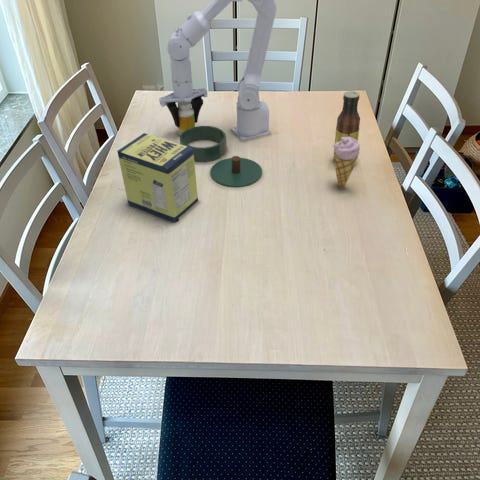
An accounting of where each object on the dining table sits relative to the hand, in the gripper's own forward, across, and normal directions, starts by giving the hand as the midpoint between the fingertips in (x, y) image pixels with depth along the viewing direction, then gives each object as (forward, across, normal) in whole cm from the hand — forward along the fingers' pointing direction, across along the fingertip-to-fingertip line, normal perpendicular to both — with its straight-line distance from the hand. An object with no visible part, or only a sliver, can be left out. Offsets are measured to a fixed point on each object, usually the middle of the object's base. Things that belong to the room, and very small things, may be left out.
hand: (186, 123), depth 153 cm
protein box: (+3, -20, -32) cm, 38 cm away
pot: (+3, 0, -13) cm, 13 cm away
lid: (+2, +3, -28) cm, 29 cm away
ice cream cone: (+3, +25, -47) cm, 53 cm away
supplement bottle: (+3, 0, 0) cm, 3 cm away
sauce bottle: (+3, +33, -37) cm, 50 cm away
